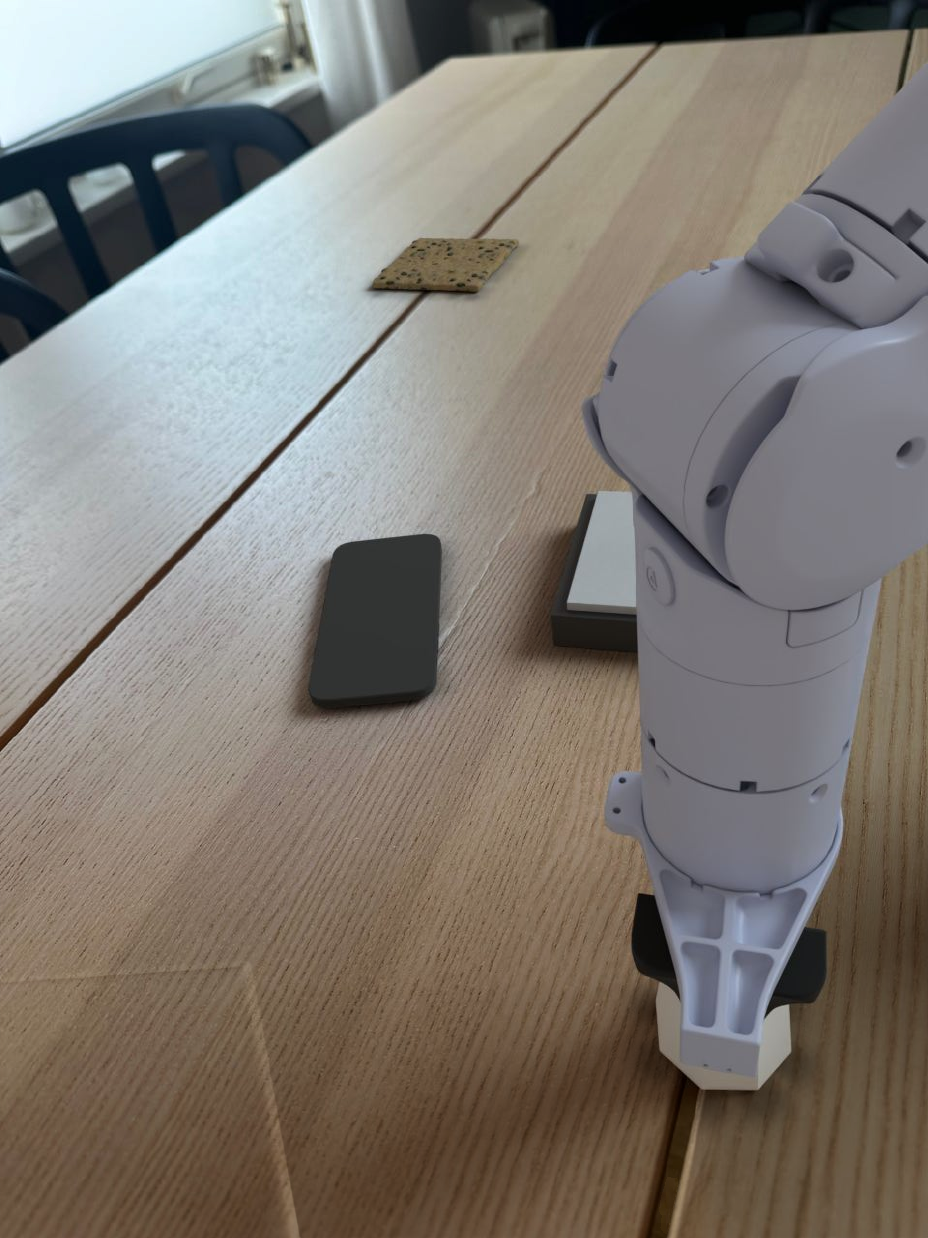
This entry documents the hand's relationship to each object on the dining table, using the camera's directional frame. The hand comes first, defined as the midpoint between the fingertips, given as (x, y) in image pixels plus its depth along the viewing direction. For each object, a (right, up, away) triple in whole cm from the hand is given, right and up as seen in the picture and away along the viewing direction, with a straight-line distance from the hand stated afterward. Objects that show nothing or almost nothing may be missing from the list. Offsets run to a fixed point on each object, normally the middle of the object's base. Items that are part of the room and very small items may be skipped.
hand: (726, 963), depth 36 cm
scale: (+4, +15, +23) cm, 28 cm away
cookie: (-11, +49, +66) cm, 83 cm away
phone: (-15, +12, +25) cm, 31 cm away
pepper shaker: (+1, -4, +3) cm, 5 cm away
